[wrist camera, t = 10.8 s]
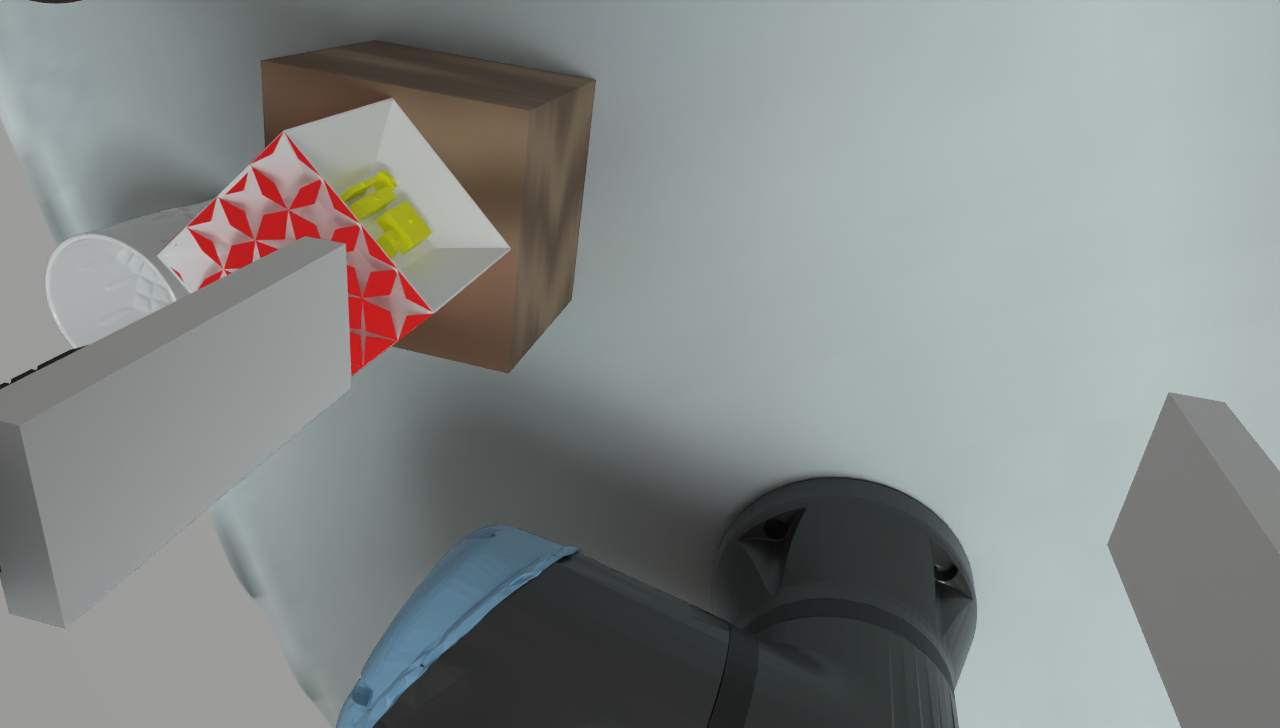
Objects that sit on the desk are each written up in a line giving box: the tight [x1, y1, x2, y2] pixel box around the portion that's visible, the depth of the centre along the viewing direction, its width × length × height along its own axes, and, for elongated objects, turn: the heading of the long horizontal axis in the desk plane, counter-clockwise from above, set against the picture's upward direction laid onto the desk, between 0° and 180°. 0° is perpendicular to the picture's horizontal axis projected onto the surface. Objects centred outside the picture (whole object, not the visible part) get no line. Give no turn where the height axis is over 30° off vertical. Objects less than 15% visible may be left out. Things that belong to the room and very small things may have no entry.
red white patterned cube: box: [157, 97, 511, 376], centre depth 36 cm, size 8×8×8 cm
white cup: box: [45, 198, 215, 349], centre depth 50 cm, size 8×8×10 cm
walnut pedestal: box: [261, 40, 596, 373], centre depth 44 cm, size 12×12×10 cm
